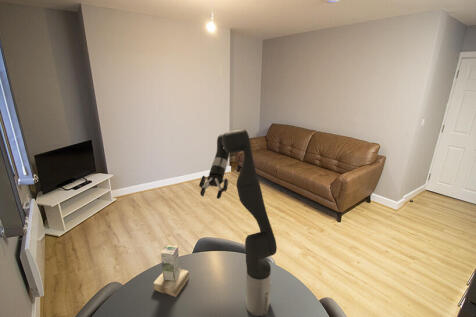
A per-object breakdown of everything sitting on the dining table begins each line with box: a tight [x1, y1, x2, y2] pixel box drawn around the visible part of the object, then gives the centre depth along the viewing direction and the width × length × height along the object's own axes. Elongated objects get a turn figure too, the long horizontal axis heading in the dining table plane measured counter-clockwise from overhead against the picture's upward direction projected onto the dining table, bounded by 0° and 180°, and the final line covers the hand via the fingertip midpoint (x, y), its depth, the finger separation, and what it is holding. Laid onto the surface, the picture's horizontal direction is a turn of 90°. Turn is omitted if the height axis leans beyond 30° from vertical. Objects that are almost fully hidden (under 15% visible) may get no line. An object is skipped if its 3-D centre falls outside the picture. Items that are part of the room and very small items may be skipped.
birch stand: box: [153, 268, 190, 298], centre depth 104 cm, size 11×11×4 cm
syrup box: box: [160, 244, 181, 281], centre depth 101 cm, size 6×6×14 cm
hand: (209, 197), depth 112 cm, fingers open, 8 cm apart
